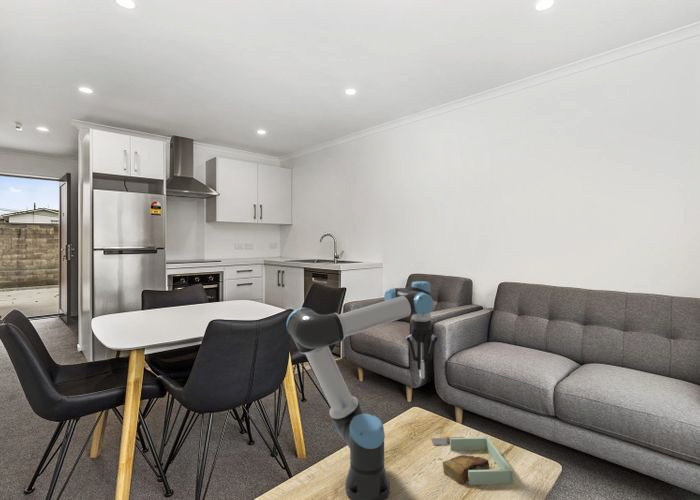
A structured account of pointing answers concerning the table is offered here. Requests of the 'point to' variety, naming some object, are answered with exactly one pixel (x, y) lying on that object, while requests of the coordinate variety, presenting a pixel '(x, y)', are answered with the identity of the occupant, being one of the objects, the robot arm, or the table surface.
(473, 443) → the mint green u-channel
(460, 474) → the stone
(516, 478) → the table surface
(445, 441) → the trowel
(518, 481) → the table surface
